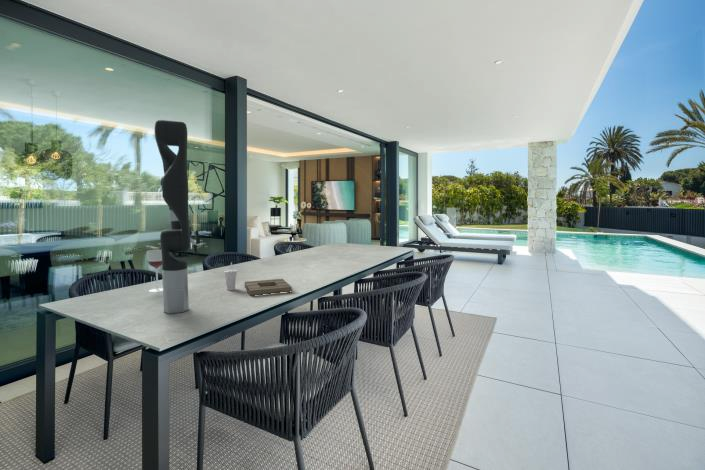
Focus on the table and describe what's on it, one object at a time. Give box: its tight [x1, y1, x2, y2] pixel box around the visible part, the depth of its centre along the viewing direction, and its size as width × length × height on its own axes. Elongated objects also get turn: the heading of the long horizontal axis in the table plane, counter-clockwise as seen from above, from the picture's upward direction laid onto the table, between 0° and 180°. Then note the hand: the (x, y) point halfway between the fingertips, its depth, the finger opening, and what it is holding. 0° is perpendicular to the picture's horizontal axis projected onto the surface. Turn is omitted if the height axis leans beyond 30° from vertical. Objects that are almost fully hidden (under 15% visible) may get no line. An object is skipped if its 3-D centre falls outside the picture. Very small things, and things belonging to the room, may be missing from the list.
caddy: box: [244, 278, 293, 297], centre depth 181 cm, size 20×20×3 cm
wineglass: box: [145, 248, 163, 293], centre depth 178 cm, size 8×9×20 cm
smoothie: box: [223, 261, 238, 291], centre depth 181 cm, size 6×6×14 cm
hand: (185, 254), depth 164 cm, fingers open, 8 cm apart
